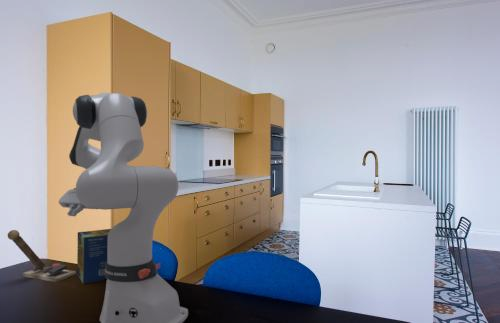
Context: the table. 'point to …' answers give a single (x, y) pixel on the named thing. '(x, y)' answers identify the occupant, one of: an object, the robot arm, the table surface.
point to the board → (46, 276)
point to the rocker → (57, 269)
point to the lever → (26, 249)
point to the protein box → (92, 255)
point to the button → (55, 265)
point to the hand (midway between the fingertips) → (70, 215)
